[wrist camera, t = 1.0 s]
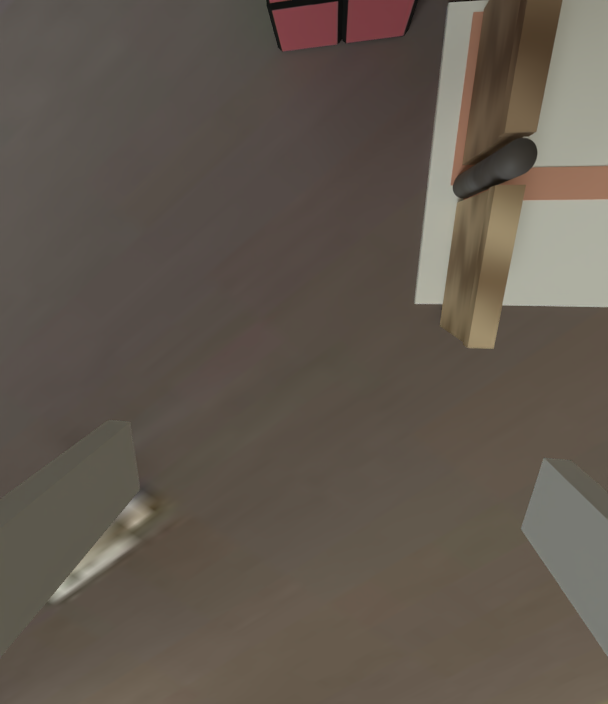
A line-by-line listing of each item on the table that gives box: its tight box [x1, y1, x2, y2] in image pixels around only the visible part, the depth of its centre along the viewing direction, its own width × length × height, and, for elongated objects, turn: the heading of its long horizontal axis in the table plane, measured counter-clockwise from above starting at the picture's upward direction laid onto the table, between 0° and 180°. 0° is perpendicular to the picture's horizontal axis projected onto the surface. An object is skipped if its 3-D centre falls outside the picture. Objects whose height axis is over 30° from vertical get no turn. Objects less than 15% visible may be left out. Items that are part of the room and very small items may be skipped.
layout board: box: [414, 0, 608, 307], centre depth 25 cm, size 22×18×1 cm
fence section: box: [453, 0, 563, 198], centre depth 21 cm, size 12×2×8 cm, turn 0°
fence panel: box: [440, 185, 526, 349], centre depth 24 cm, size 11×2×7 cm, turn 0°
